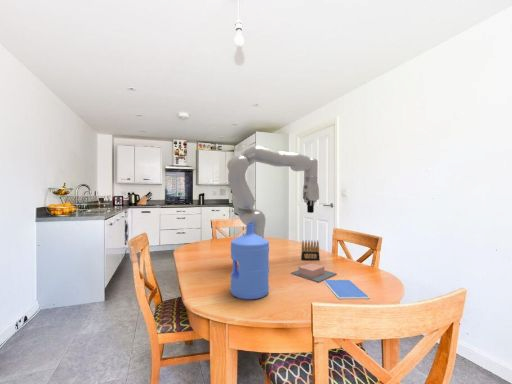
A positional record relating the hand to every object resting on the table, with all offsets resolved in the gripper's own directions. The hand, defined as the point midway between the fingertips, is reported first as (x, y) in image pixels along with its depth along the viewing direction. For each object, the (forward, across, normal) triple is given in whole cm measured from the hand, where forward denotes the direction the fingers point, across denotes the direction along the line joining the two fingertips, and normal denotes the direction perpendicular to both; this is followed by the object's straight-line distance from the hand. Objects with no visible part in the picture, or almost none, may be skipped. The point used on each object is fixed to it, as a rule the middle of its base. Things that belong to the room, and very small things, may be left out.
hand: (310, 212), depth 141 cm
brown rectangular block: (+27, -11, -12) cm, 31 cm away
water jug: (+29, -52, -7) cm, 60 cm away
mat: (+29, -14, -12) cm, 34 cm away
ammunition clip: (+29, +6, +4) cm, 30 cm away
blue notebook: (+30, -20, -32) cm, 48 cm away
